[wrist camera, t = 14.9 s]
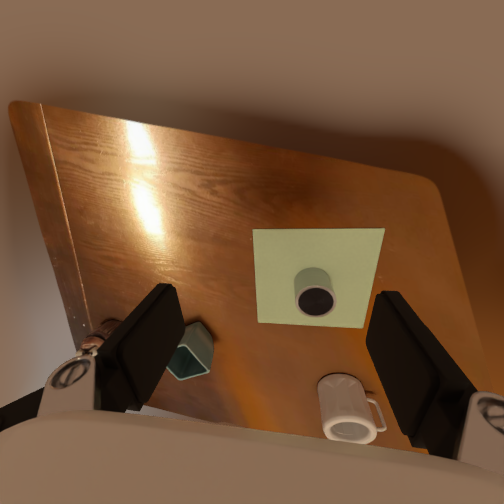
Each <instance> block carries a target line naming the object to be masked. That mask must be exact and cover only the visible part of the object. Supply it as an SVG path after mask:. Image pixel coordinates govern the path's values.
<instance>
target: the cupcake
mask: <svg viewBox="0 0 504 504" xmlns="http://www.w3.org/2000/svg"><path fill="white" fill-rule="evenodd" d="M121 323H122V322H121V321H118V320H111V321H107V322H105V323H104V324H102V325H101V326H100V327H98V328H97V329H95V330H94V331H92V332H90V333H89V334H88V336H87V337H86V338H85V339H84V340H83V342H82V345H81V348H80V350H79V351H77V352H76V357H78V356H81V355H91V356H93V357H95V356H96V355H97V354H98V353H97V351H96V350H97V349H98V348H99V347H100V346H101V345H102V344H103V342H104V341H105V340H106V339H107V338H108V337H109V336H110V335H111V334H112V333H113V332H114V331H115V330H116V328H117V327H118V326H119V325H120V324H121Z"/></svg>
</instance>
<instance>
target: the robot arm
mask: <svg viewBox="0 0 504 504" xmlns="http://www.w3.org/2000/svg"><path fill="white" fill-rule="evenodd" d="M184 334H185V323H184V319H183V315H182V311H181V308H180V304H179V300H178V296H177V292H176V288H175V287H173V286H172V284H167V283H159V284H157V285H156V287H155V288H154V289H153V290H152V291H151V292H150V293H149V294H148V295H147V296H146V297H145V298H144V299H143V300H142V302H141V303H140V304H139V305H138V306H137V307H136V308H135V309H134V310H133V311H132V312H131V313H130V314H129V316H128V317H127V318H126V319H125V320H124V321H123V322H122V323H121V324H120V325H119V326H118V327H117V328H116V330H115V331H114V332H113V333H112V334H111V335H110V336H109V337H108V338H107V339H106V340H105V341H104V342H103V344H102V345H101V346H100V347H99V348H98V349H97V350H96V351H97V353H98V354H97V355H96V356H95V357H93V356H91V355H81V356H78V357H75V358H72V359H70V360H68V361H66V362H65V363H63V364H62V365H60V366H59V367H58V368H57V369H56V370H54V371H53V372H52V374H51V375H50V376H49V377H48V380H47V382H46V384H45V387H43V388H41V389H39V390H37V391H35V392H33V393H30V394H28V395H26V396H24V397H22V398H20V399H18V400H16V401H14V402H12V403H10V404H8V405H6V406H4V407H2V408H0V504H504V397H503V396H500V395H498V394H495V393H491V392H487V391H477V389H476V388H475V387H474V386H473V384H472V383H471V382H470V380H469V379H468V378H467V377H466V375H465V374H464V373H463V372H462V370H461V369H460V368H459V366H458V365H457V364H456V363H455V361H454V360H453V359H452V358H451V356H450V355H449V354H448V353H447V351H446V350H445V349H444V347H443V346H442V345H441V344H440V342H439V341H438V340H437V339H436V337H435V336H434V335H433V334H432V332H431V331H430V330H429V329H428V328H427V327H426V326H425V325H424V323H423V322H422V321H421V320H420V318H419V317H418V316H417V315H416V313H415V312H414V311H413V309H412V308H411V307H410V306H409V304H408V303H407V302H406V300H405V299H404V298H403V297H402V295H401V294H400V293H399V292H398V291H381V293H380V294H377V295H376V298H375V302H374V306H373V311H372V315H371V319H370V323H369V327H368V332H367V336H366V346H367V349H368V351H369V354H370V356H371V359H372V361H373V363H374V366H375V368H376V371H377V373H378V376H379V378H380V381H381V383H382V386H383V388H384V390H385V393H386V395H387V398H388V400H389V403H390V405H391V408H392V410H393V413H394V415H395V417H396V420H397V422H398V425H399V427H400V429H401V431H402V433H403V434H404V435H407V436H408V438H409V440H410V443H411V445H412V447H416V448H424V449H427V450H428V452H429V454H430V455H428V454H423V453H416V452H410V451H404V450H397V449H391V448H385V447H378V446H372V445H365V444H358V443H351V442H343V441H336V440H329V439H322V438H315V437H307V436H300V435H293V434H286V433H278V432H271V431H263V430H256V429H248V428H241V427H232V426H225V425H218V424H210V423H202V422H195V421H186V420H178V419H171V418H163V417H155V416H147V415H139V414H130V413H125V411H126V410H133V411H140V410H141V408H142V406H143V404H144V403H146V402H147V401H148V400H149V399H150V397H151V395H152V393H153V392H154V390H155V388H156V386H157V384H158V382H159V380H160V379H161V377H162V375H163V373H164V371H165V369H166V367H167V366H168V364H169V362H170V360H171V358H172V356H173V354H174V353H175V351H176V349H177V347H178V345H179V343H180V341H181V340H182V338H183V336H184Z"/></svg>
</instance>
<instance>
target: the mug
mask: <svg viewBox="0 0 504 504" xmlns="http://www.w3.org/2000/svg"><path fill="white" fill-rule="evenodd" d="M318 395H319V400H320V407H321V417H322V426H323V431H324V433H325V435H326V436H327V437H328V438H329V439H330V440H336V441H343V442H351V443H358V444H367V443H369V442H371V441H373V440H374V439H375V437H376V435H377V431H378V432H382V431H385V430H386V429H387V428H386V424H385V421H384V418H383V416H382V413H381V410H380V407H379V405H378V402H377V401H375V400H374V399H371V398H367V397H366V395H365V392H364V389H363V386H362V384H361V382H360V381H359V380H357V379H356V378H354V377H352V376H350V375H346V374H331V375H328V376H326V377H324V378H323V379H321V380H320V382H319V383H318ZM368 401H369V402H372V403H374V404H375V406H376V408H377V411H378V414H379V417H380V420H381V423H382V425H383V427H376V426H375V423H374V420H373V417H372V414H371V411H370V408H369V404H368Z"/></svg>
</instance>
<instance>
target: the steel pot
mask: <svg viewBox="0 0 504 504" xmlns="http://www.w3.org/2000/svg"><path fill="white" fill-rule="evenodd" d="M294 291H295V304H296V307H297V309H298V310H299V311H300V312H301V313H302V314H304V315H306V316H309V317H322V316H325V315H328V314H329V313H331V312H332V311H333V310H334V308H335V306H336V303H337V299H336V296H335V293H334V290H333V287H332V284H331V281H330V278H329V276H328V274H327V273H326V272H325V271H323V270H321V269H319V268H306V269H303V270H302V271H300V272H299V273H298V274H297V275H296V277H295V279H294Z"/></svg>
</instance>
